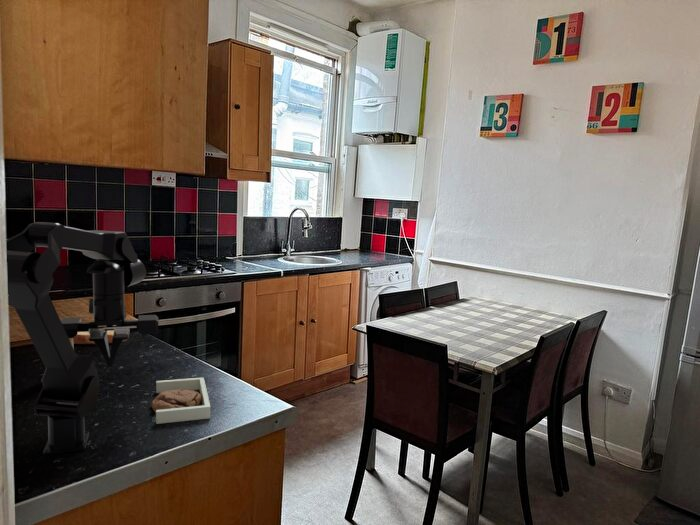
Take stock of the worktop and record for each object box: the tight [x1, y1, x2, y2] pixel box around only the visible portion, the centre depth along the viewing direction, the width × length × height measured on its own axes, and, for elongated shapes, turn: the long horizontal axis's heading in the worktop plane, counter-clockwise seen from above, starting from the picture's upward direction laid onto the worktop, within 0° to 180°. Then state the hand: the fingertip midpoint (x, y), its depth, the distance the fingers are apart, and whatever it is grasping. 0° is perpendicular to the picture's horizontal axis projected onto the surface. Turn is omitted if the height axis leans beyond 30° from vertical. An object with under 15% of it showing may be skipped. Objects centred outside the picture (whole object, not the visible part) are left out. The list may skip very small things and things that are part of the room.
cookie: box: [150, 389, 203, 413], centre depth 109 cm, size 10×11×3 cm
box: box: [155, 377, 211, 425], centre depth 110 cm, size 17×10×2 cm, turn 21°
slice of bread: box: [73, 330, 128, 345], centre depth 151 cm, size 18×18×4 cm
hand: (110, 366), depth 104 cm, fingers closed
